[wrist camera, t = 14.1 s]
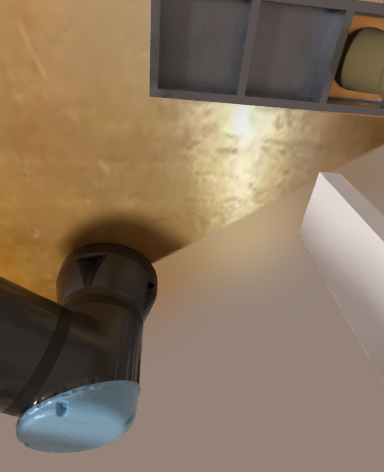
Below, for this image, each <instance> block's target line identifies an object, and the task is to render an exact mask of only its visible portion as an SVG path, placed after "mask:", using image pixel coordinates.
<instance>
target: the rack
mask: <svg viewBox="0 0 384 472" xmlns="http://www.w3.org/2000/svg"><path fill="white" fill-rule="evenodd" d="M364 27H376V28H379V29H381V30H383V31H384V4H383V3H375V2H367V1H359V0H151V46H150V97H162V98H174V99H185V100H197V101H209V102H221V103H232V104H244V105H256V106H268V107H280V108H291V109H303V110H315V111H322V112H324V113H335V114H346V115H358V116H370V117H382V118H384V97H383V96H382V95H378V94H371V93H364V92H357V91H350V90H346V89H344V88H342V87H340V86H339V85H338V84H337V82H336V81H335V79H334V77H335V74H336V71H337V68H338V64H339V61H340V58H341V55H342V52H343V48H344V45H345V42H346V39H347V36H348V35H350V34H351V33H353V32H354V31H356V30H358V29H360V28H364Z"/></svg>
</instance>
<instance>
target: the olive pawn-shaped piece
mask: <svg viewBox="0 0 384 472" xmlns="http://www.w3.org/2000/svg"><path fill="white" fill-rule="evenodd" d="M334 79H335V81H336V82H337V84H338V85H339V86H340V87H342V88H344V89H346V90H350V91H357V92H364V93H371V94H378V95H382V96H383V97H384V31H383V30H381V29H379V28H376V27H364V28H360V29H358V30H356V31H354V32H353V33H351V34H350V35H348V36H347V39H346V42H345V45H344V48H343V52H342V55H341V58H340V61H339V64H338V68H337V71H336V74H335V77H334Z"/></svg>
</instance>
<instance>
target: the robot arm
mask: <svg viewBox="0 0 384 472" xmlns="http://www.w3.org/2000/svg"><path fill="white" fill-rule="evenodd" d="M298 236H299V238H300V240H301V242H302V243H303V245H304V246H305V249H306V250H307V252H308V254H309V255H310V257H311V259H312V261H313V262H314V264H315V266H316V268H317V270H318V271H319V273H320V275H321V276H322V278H323V280H324V282H325V283H326V285H327V287H328V289H329V290H330V292H331V294H332V296H333V297H334V299H335V301H336V303H337V304H338V306H339V308H340V310H341V311H342V313H343V315H344V317H345V318H346V320H347V322H348V323H349V325H350V327H351V329H352V330H353V332H354V334H355V336H356V338H357V339H358V341H359V343H360V345H361V346H362V348H363V350H364V352H365V353H366V355H367V357H368V359H369V360H370V362H371V364H372V366H373V367H374V369H375V371H376V373H377V374H378V376H379V378H380V380H381V381H382V383H383V385H384V216H383V215H382V214H381V213H380V212H379V211H378V210H377V209H376V208H375V207H374V206H373V205H372V204H371V203H370V202H369V201H368V200H367V199H366V198H365V197H364V196H363V195H362V194H361V193H360V192H359V191H357V190H356V189H355V188H354V187H353V186H352V185H351V184H350V183H349V182H348V181H347V180H346V179H345V178H344V177H343V176H342V175H341V174H340V173H326V172H319V175H318V178H317V181H316V184H315V187H314V190H313V193H312V196H311V198H310V202H309V204H308V207H307V210H306V213H305V216H304V219H303V222H302V225H301V228H300V231H299V234H298ZM56 290H57V303H56V302H53V301H51V300H49V299H47V298H45V297H43V296H41V295H38V294H36V293H34V292H32V291H30V290H28V289H26V288H24V287H22V286H19V285H17V284H15V283H13V282H11V281H9V280H7V279H5V278H3V277H0V412H2V413H5V414H8V415H12V416H16V417H18V418H19V419H18V421H17V424H16V435H17V438H18V440H19V441H20V442H21V443H24V444H25V446H26V447H29V448H31V449H34V450H38V451H44V452H54V453H64V452H65V453H67V452H78V451H84V450H89V449H94V448H98V447H101V446H104V445H106V444H109V443H111V442H113V441H115V440H117V439H118V438H120V437H121V436H123V435H124V434H125V433H126V432H127V431H128V430H129V429H130V427H131V426H132V424H133V422H134V419H135V415H136V409H137V403H138V396H139V394H140V385H139V381H140V366H141V350H142V335H143V324H144V322H145V319H146V318H147V316H148V314H149V312H150V310H151V308H152V305H153V304H154V301H155V299H156V295H157V275H156V272H155V270H154V268H153V266H152V265H151V263H150V262H149V261H148V260H147V259H146V258H145V257H144V256H143V255H141V254H140V253H138V252H136V251H135V250H133V249H130V248H128V247H125V246H121V245H117V244H109V243H100V244H92V245H88V246H85V247H82V248H80V249H78V250H76V251H74V252H73V253H71V254H70V255H69V256H68V257H67V258H66V259H65V261H64V262H63V264H62V266H61V269H60V271H59V274H58V277H57V282H56Z"/></svg>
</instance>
